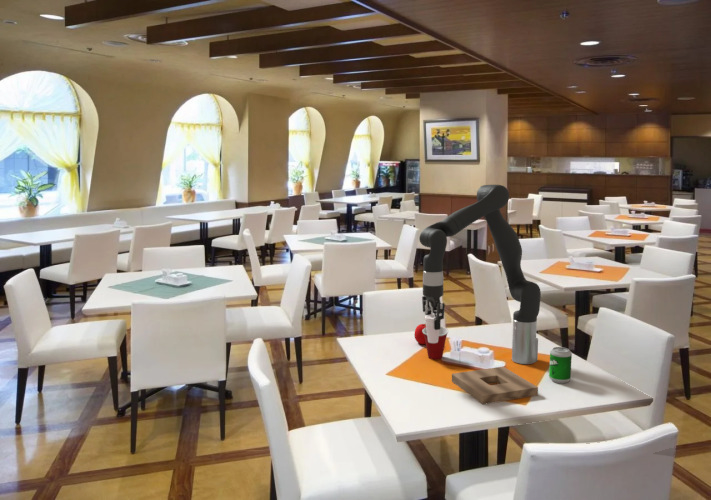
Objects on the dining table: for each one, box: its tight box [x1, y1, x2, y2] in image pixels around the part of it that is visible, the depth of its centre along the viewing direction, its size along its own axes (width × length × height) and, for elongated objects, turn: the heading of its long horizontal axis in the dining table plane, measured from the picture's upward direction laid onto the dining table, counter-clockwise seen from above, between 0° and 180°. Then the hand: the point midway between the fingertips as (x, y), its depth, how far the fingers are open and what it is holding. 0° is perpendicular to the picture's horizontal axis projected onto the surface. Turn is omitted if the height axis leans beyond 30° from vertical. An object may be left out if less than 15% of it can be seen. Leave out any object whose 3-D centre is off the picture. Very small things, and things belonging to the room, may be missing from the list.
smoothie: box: [424, 314, 443, 343], centre depth 220 cm, size 6×6×14 cm
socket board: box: [451, 366, 539, 405], centre depth 215 cm, size 22×22×3 cm
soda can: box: [548, 346, 573, 384], centre depth 221 cm, size 8×8×12 cm
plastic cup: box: [422, 326, 449, 360], centre depth 247 cm, size 11×11×12 cm
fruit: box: [414, 321, 426, 346], centre depth 266 cm, size 9×9×10 cm
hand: (433, 326), depth 220 cm, fingers closed on smoothie, 6 cm apart
